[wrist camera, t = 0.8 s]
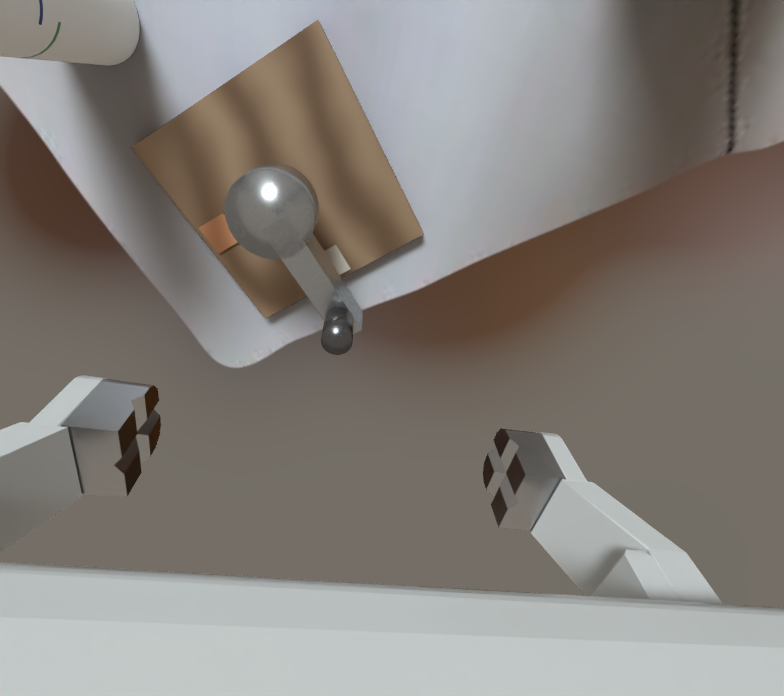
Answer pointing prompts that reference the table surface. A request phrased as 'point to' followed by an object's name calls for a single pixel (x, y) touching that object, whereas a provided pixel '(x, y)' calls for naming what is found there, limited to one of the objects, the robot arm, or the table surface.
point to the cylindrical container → (69, 30)
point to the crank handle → (293, 243)
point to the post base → (288, 146)
